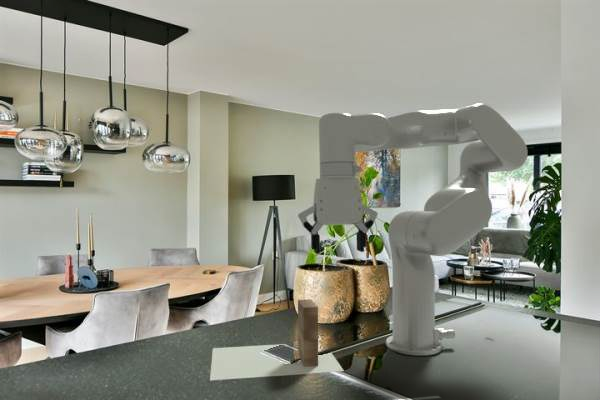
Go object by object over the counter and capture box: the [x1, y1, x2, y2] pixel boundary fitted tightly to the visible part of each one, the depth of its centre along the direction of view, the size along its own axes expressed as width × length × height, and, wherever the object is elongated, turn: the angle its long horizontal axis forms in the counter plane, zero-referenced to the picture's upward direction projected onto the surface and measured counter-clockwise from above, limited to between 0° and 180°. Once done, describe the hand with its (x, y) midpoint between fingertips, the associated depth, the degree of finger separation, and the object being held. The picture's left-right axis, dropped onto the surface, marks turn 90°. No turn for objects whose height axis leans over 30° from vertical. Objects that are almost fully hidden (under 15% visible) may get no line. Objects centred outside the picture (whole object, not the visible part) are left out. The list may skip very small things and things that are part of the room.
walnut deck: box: [297, 298, 319, 367], centre depth 92 cm, size 3×7×12 cm, turn 10°
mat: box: [209, 343, 345, 382], centre depth 92 cm, size 26×18×1 cm
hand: (338, 251), depth 93 cm, fingers open, 9 cm apart
